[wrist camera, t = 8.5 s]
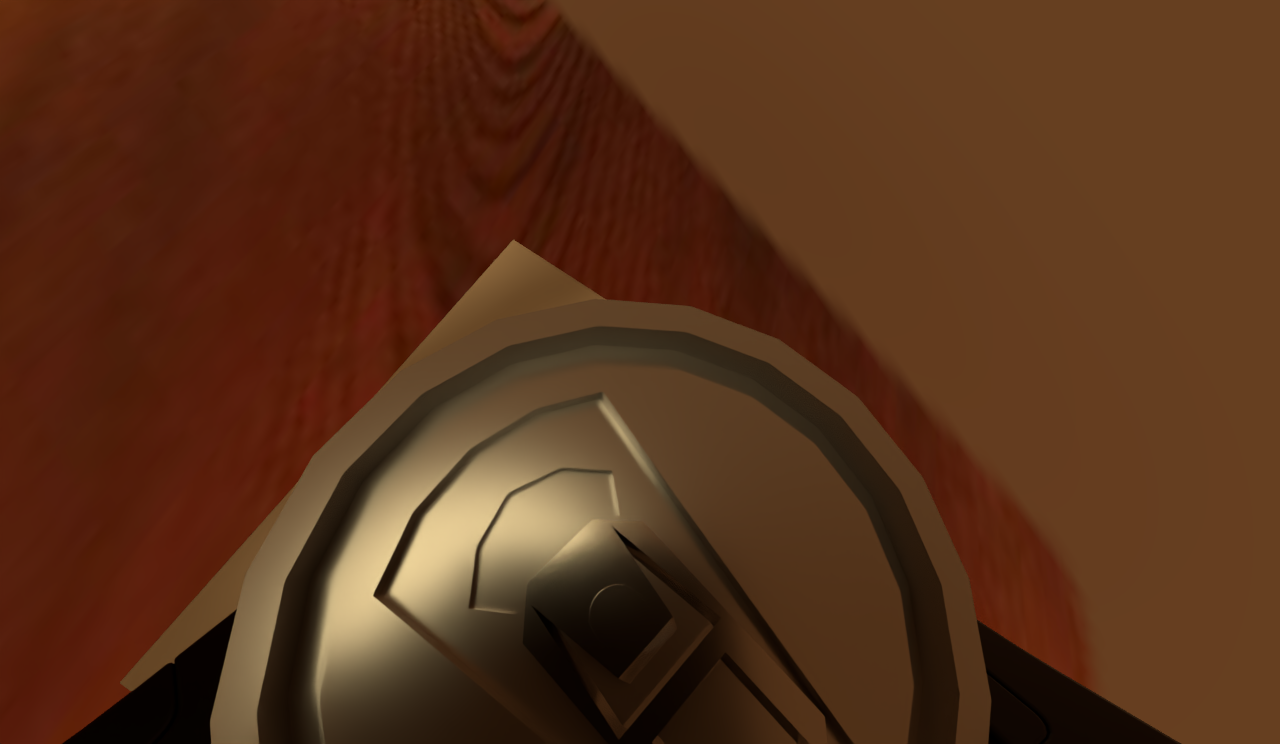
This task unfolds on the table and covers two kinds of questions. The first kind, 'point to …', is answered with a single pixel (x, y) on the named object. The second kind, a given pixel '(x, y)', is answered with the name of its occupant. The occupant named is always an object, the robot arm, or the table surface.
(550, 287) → the serving board
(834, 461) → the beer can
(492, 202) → the table surface
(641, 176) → the table surface
